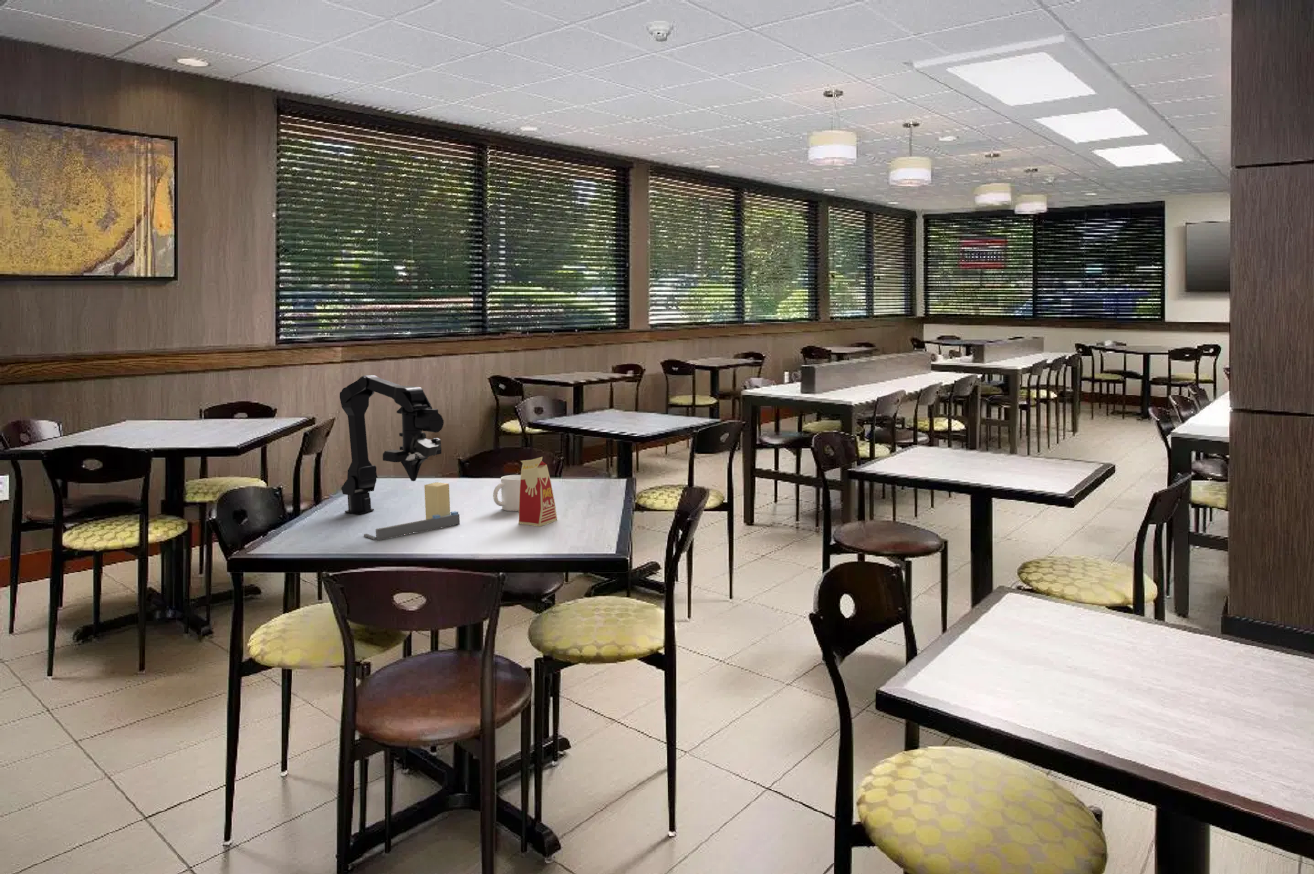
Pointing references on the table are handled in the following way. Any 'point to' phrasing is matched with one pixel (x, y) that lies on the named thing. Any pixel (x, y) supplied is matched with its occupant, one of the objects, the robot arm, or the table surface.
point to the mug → (508, 492)
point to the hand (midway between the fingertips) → (413, 480)
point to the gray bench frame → (416, 526)
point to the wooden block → (437, 499)
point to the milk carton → (536, 494)
